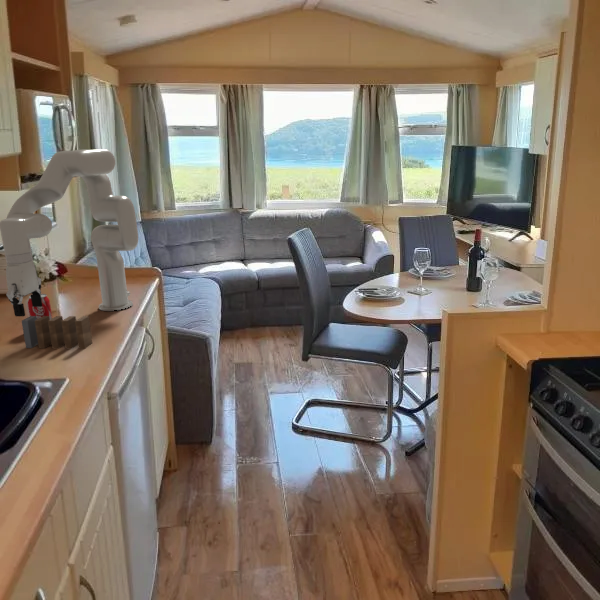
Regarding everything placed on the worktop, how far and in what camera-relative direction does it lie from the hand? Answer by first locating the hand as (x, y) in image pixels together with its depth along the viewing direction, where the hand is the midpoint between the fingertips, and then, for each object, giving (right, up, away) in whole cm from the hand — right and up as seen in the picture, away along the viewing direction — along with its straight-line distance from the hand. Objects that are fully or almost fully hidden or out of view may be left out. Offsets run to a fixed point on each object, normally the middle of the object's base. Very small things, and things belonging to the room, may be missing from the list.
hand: (29, 311), depth 196 cm
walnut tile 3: (+9, -11, +1) cm, 14 cm away
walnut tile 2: (+5, -11, +2) cm, 12 cm away
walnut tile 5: (+18, -11, 0) cm, 21 cm away
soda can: (-3, -7, +19) cm, 20 cm away
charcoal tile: (0, -11, +2) cm, 11 cm away
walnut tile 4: (+14, -11, 0) cm, 17 cm away
